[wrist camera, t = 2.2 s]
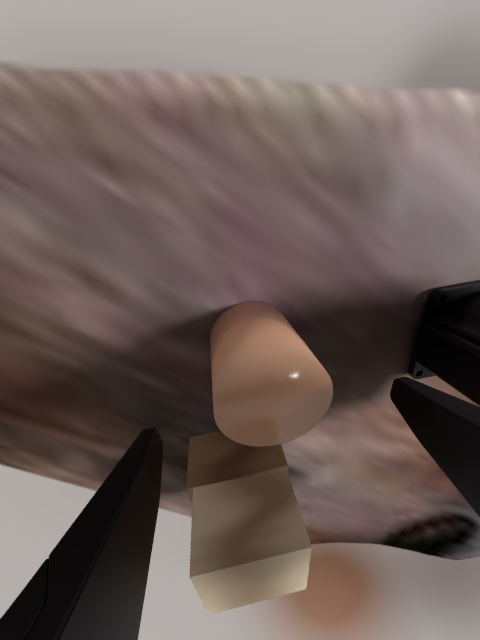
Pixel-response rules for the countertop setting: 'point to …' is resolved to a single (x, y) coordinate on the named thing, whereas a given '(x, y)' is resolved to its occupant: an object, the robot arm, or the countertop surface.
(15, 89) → the countertop surface
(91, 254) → the countertop surface
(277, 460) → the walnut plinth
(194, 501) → the maple block
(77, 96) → the countertop surface
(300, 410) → the tan rounded piece
